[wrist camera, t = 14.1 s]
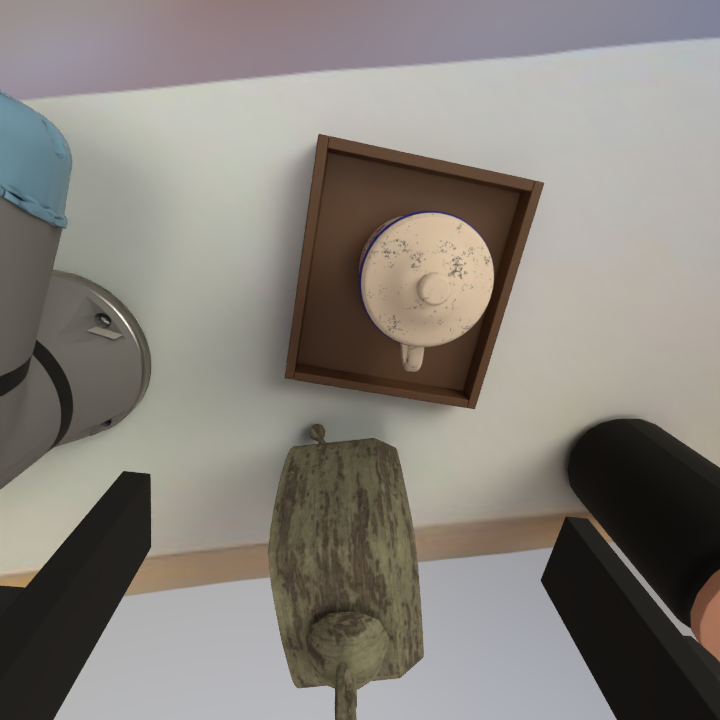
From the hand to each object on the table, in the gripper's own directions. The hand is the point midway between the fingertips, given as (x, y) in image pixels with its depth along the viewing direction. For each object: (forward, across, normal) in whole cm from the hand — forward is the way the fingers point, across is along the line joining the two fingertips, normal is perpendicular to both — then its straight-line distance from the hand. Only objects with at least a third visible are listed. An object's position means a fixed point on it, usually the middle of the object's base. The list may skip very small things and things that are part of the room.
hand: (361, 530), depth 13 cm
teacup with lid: (+26, +5, +4) cm, 26 cm away
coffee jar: (+26, +30, -10) cm, 41 cm away
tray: (+26, +4, +4) cm, 27 cm away
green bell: (+26, +3, -16) cm, 31 cm away
